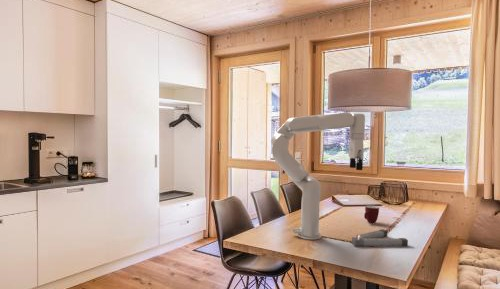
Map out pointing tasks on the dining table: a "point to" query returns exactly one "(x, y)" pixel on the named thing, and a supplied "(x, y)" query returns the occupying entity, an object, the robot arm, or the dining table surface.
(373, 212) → the mug
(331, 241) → the dining table surface
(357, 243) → the base
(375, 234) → the tongs leg
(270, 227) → the dining table surface
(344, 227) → the dining table surface
